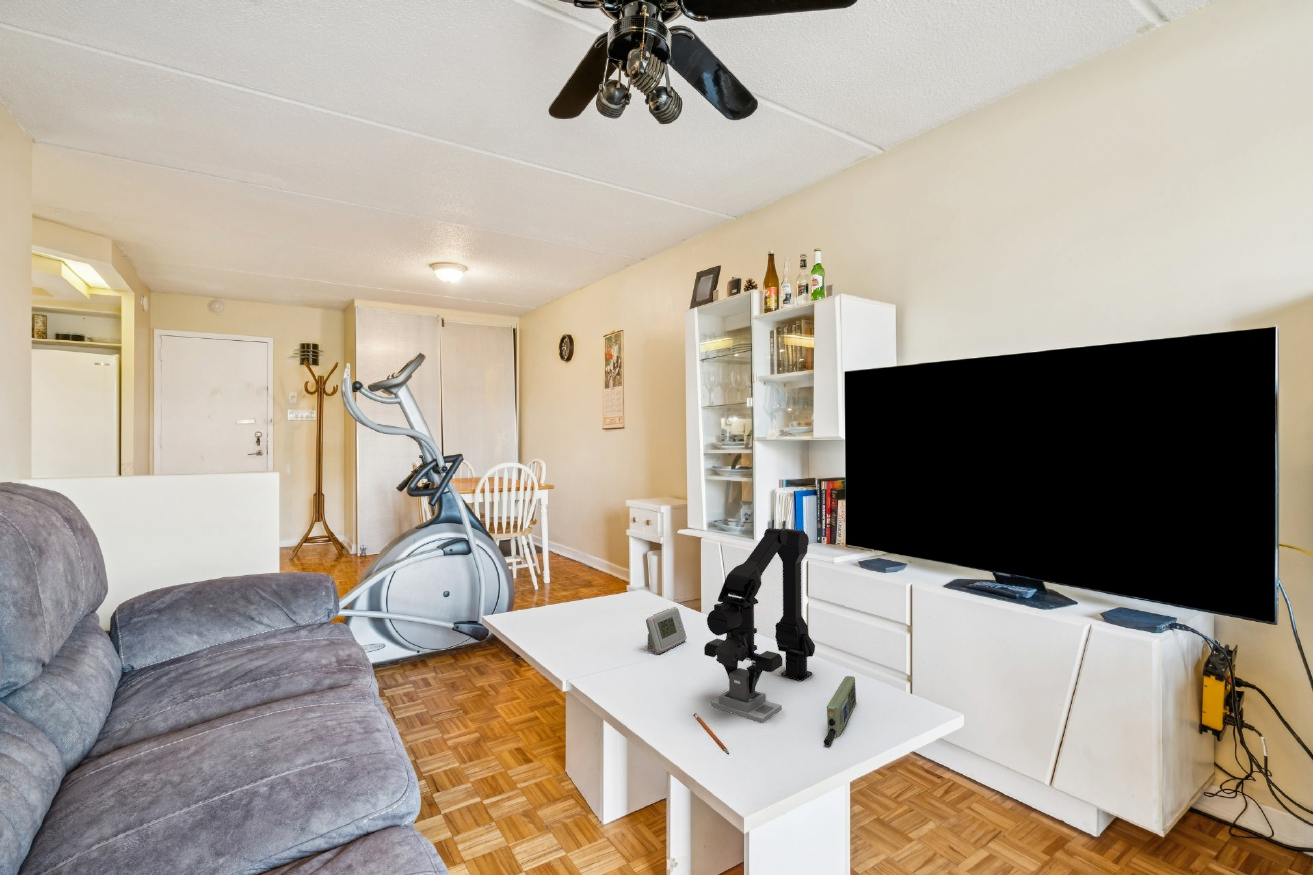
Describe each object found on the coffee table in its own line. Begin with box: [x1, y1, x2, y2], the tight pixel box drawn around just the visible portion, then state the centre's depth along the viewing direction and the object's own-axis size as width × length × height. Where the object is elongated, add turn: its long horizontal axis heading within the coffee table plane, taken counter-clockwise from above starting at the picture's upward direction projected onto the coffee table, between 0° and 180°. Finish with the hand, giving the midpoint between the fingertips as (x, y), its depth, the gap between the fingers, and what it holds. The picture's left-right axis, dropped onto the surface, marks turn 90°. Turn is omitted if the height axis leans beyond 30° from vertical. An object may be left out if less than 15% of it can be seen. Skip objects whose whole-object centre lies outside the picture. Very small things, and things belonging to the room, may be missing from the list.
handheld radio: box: [823, 675, 857, 747], centre depth 137 cm, size 7×3×25 cm
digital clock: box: [645, 606, 687, 655], centre depth 188 cm, size 16×9×11 cm, turn 133°
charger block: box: [728, 667, 756, 701], centre depth 145 cm, size 5×4×6 cm
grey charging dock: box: [710, 689, 783, 724], centre depth 145 cm, size 9×14×3 cm, turn 50°
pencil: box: [692, 712, 730, 755], centre depth 132 cm, size 1×19×1 cm, turn 18°
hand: (742, 690), depth 145 cm, fingers closed on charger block, 4 cm apart
